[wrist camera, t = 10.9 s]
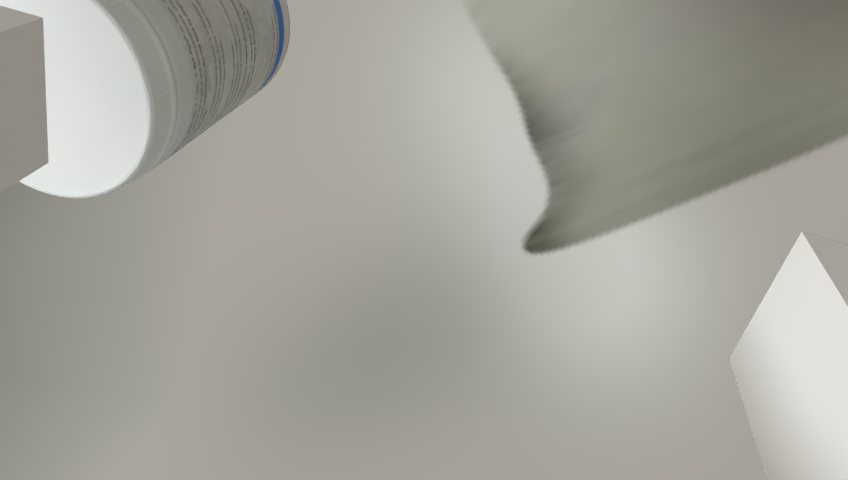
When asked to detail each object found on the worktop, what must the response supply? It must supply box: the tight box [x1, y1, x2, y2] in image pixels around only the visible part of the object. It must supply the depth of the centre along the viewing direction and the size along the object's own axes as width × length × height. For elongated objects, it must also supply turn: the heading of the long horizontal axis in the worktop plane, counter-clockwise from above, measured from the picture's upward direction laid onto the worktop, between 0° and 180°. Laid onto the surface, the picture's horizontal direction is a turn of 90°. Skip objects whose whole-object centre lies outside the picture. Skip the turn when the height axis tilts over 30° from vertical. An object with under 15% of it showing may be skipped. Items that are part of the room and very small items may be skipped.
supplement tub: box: [0, 0, 290, 198], centre depth 34 cm, size 10×10×15 cm
